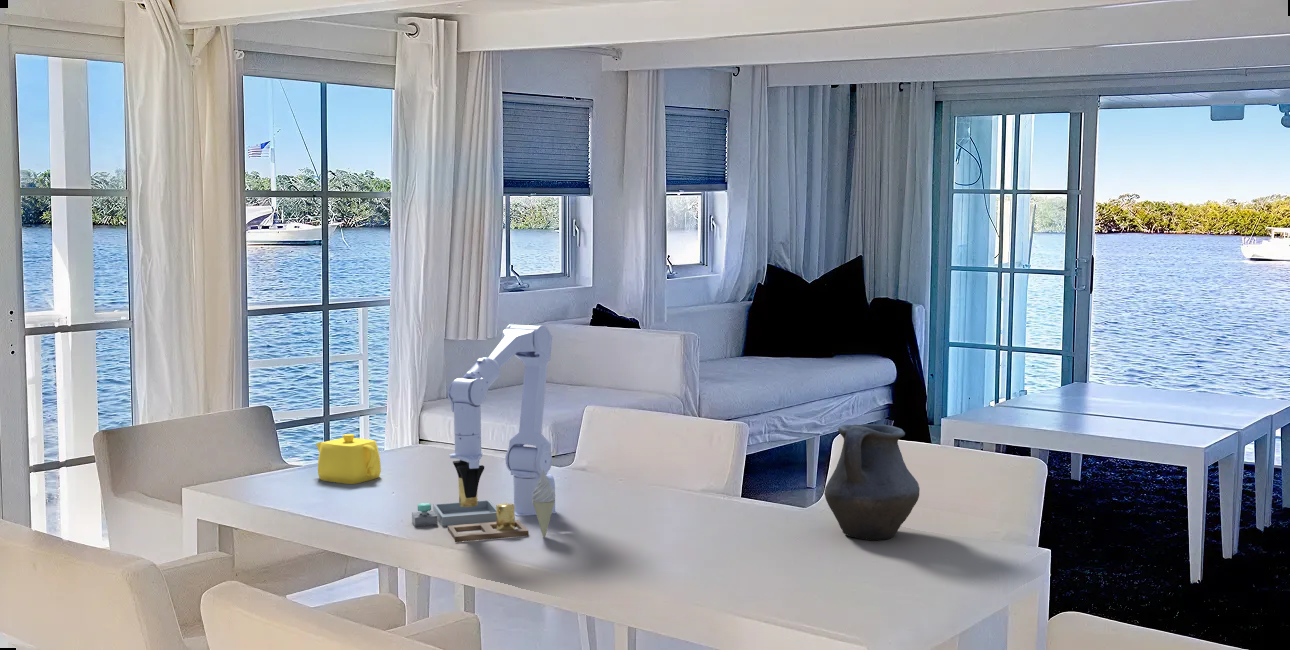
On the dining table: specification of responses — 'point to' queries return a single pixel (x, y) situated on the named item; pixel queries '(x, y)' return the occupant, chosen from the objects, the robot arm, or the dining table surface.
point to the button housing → (424, 519)
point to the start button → (424, 508)
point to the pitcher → (871, 483)
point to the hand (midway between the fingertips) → (468, 495)
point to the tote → (465, 513)
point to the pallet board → (486, 531)
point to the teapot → (348, 460)
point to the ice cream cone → (543, 502)
